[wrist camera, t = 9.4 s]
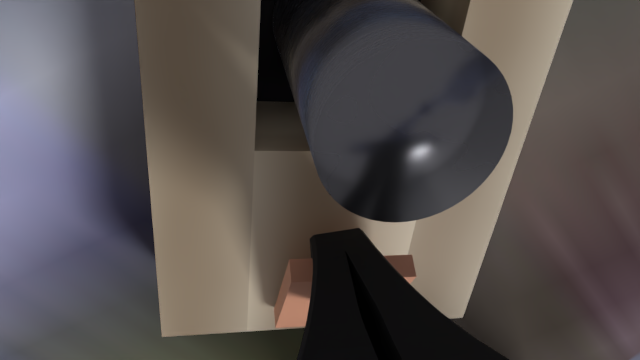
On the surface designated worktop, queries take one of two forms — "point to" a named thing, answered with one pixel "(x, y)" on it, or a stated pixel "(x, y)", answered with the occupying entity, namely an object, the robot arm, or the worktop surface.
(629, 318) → the worktop surface
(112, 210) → the worktop surface
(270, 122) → the hitch block
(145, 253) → the worktop surface
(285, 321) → the latch flap
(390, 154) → the steel peg
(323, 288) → the robot arm
